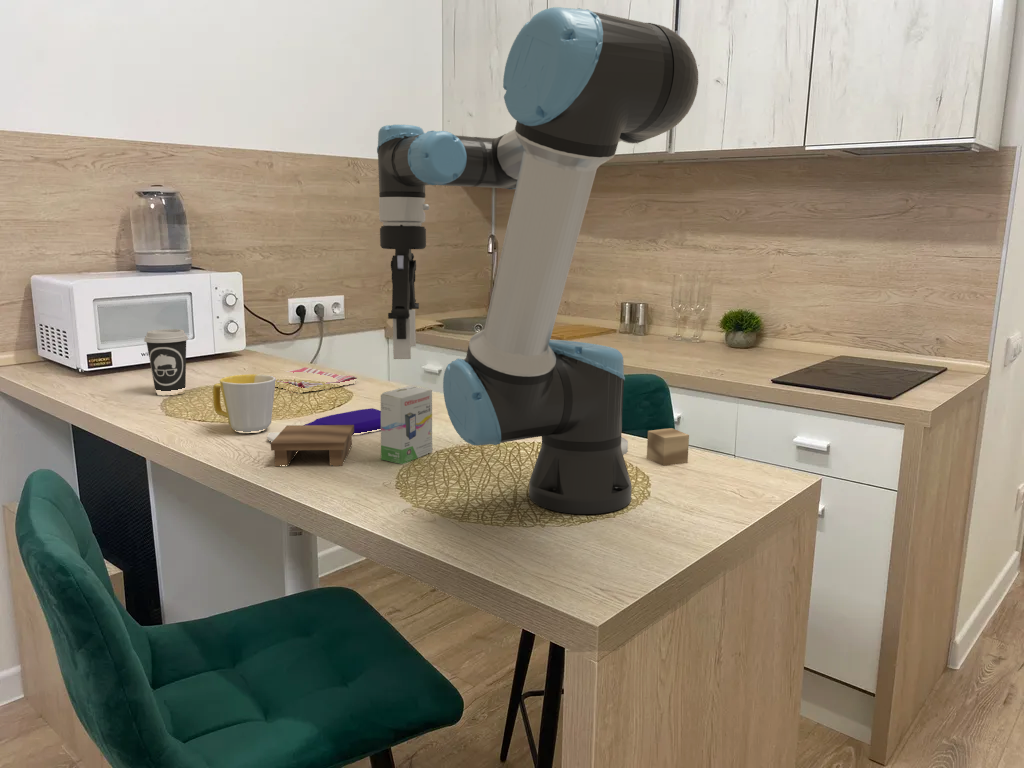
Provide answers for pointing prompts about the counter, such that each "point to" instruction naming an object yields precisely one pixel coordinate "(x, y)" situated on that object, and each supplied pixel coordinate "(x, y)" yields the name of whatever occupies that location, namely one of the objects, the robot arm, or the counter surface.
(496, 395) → the robot arm
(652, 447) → the oak block
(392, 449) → the ink box
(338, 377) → the dish towel
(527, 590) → the counter surface
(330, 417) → the purple bottle shape
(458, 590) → the counter surface
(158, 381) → the coffee cup
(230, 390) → the mug
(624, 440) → the pale grey dome
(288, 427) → the stand
